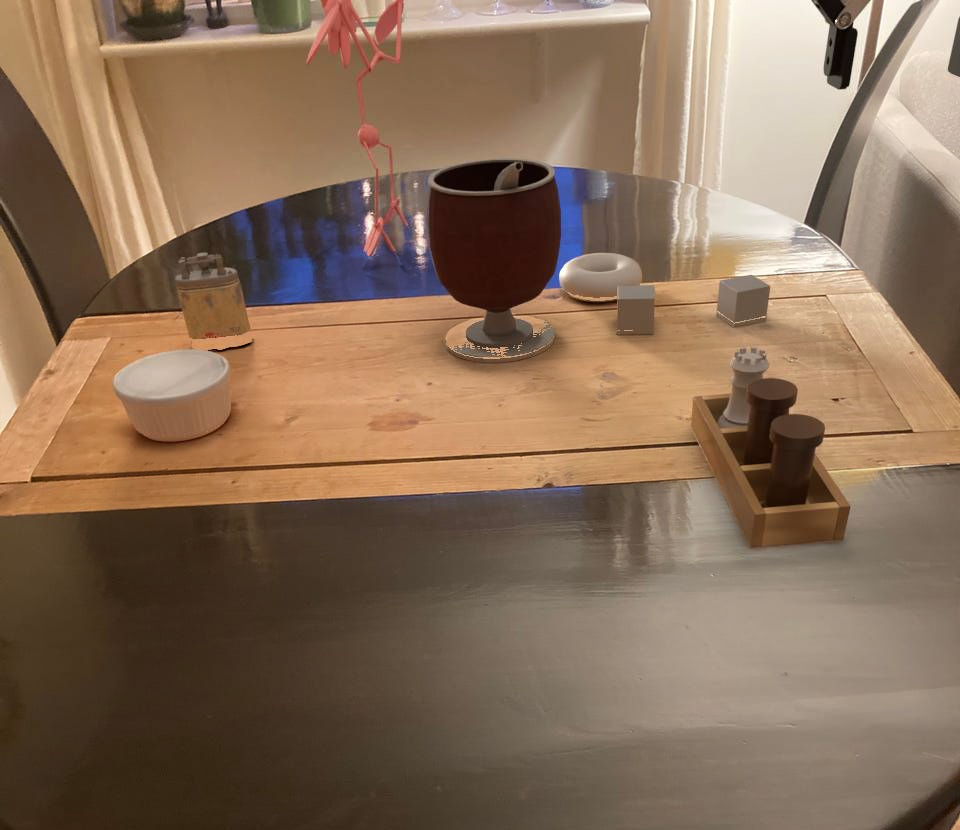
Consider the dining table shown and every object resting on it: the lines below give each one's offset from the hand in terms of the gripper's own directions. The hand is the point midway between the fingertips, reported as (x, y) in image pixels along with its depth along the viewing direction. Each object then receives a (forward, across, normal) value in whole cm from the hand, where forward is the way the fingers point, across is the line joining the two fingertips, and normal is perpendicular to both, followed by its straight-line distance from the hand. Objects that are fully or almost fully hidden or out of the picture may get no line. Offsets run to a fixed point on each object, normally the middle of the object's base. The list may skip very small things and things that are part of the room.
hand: (898, 80), depth 75 cm
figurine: (+26, +48, -53) cm, 76 cm away
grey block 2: (+26, +4, -20) cm, 33 cm away
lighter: (+26, +63, -25) cm, 73 cm away
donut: (+26, +18, -32) cm, 45 cm away
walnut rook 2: (+26, +12, +21) cm, 35 cm away
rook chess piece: (+26, +12, +9) cm, 30 cm away
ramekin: (+26, +64, -6) cm, 70 cm away
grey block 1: (+26, +16, -20) cm, 37 cm away
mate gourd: (+26, +31, -19) cm, 45 cm away
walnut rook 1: (+26, +12, +15) cm, 32 cm away
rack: (+26, +12, +15) cm, 33 cm away
